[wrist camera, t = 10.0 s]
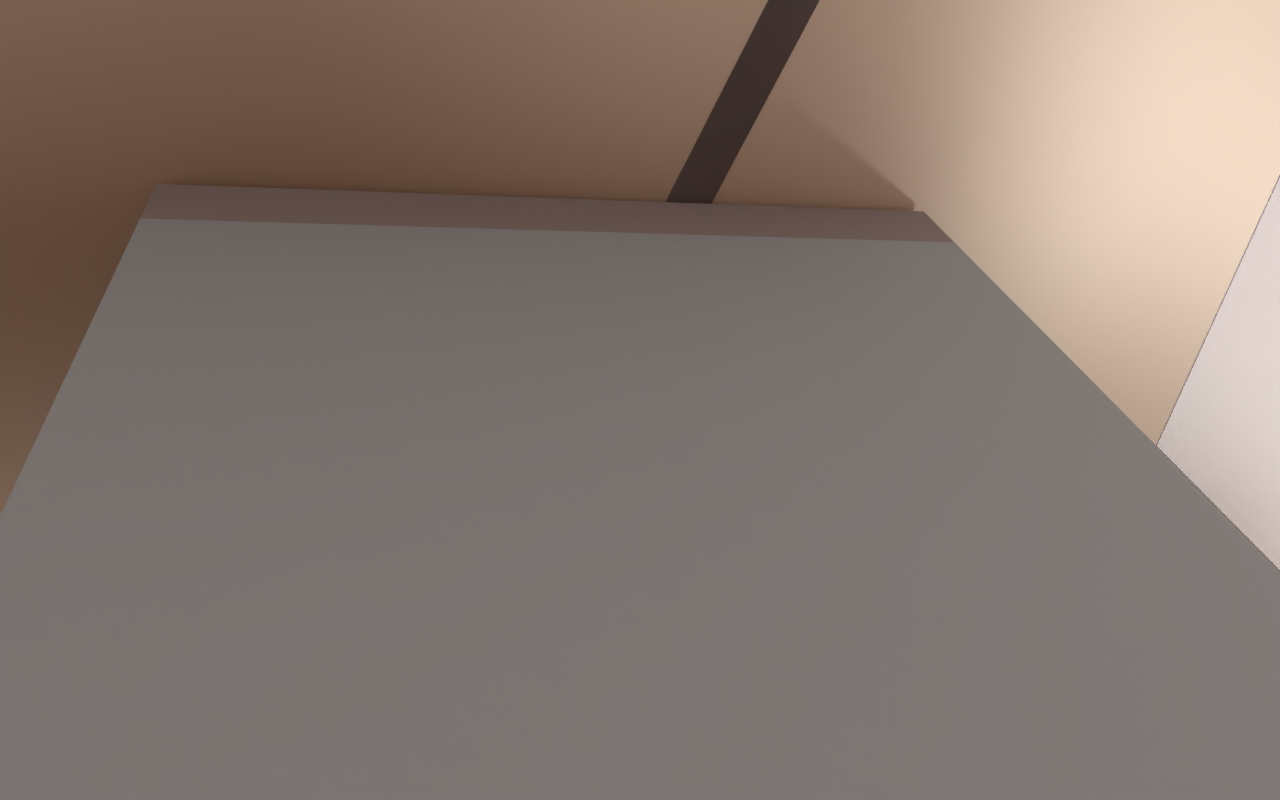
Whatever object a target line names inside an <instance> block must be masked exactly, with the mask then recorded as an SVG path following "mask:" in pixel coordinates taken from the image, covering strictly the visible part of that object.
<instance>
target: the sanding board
mask: <svg viewBox="0 0 1280 800" xmlns="http://www.w3.org/2000/svg"><path fill="white" fill-rule="evenodd" d="M1279 177H1280V0H0V515H1V513H2V511H3V509H4V507H5V505H6V502H7V500H8V498H9V496H10V494H11V492H12V490H13V488H14V485H15V483H16V481H17V479H18V477H19V475H20V473H21V471H22V468H23V466H24V464H25V462H26V460H27V458H28V456H29V454H30V451H31V449H32V447H33V445H34V443H35V441H36V439H37V437H38V434H39V432H40V430H41V428H42V426H43V424H44V422H45V420H46V417H47V415H48V413H49V411H50V409H51V407H52V405H53V403H54V400H55V398H56V396H57V394H58V392H59V390H60V388H61V386H62V383H63V381H64V379H65V377H66V375H67V373H68V371H69V369H70V366H71V364H72V362H73V360H74V358H75V356H76V354H77V352H78V349H79V347H80V345H81V343H82V341H83V339H84V337H85V335H86V332H87V330H88V328H89V326H90V324H91V322H92V320H93V317H94V315H95V313H96V311H97V309H98V307H99V305H100V303H101V300H102V298H103V296H104V294H105V292H106V290H107V288H108V286H109V283H110V281H111V279H112V277H113V275H114V273H115V271H116V269H117V266H118V264H119V262H120V260H121V258H122V256H123V254H124V252H125V249H126V247H127V245H128V243H129V241H130V239H131V237H132V235H133V232H134V230H135V228H136V226H137V224H138V222H139V220H140V218H141V215H142V213H143V211H144V209H145V207H146V205H147V203H148V201H149V198H150V196H151V194H152V192H153V190H154V188H155V186H156V184H178V185H206V186H233V187H261V188H288V189H316V190H344V191H371V192H399V193H426V194H454V195H482V196H509V197H537V198H564V199H592V200H620V201H647V202H675V203H702V204H730V205H758V206H785V207H813V208H840V209H868V210H896V211H923V212H925V213H926V214H927V215H928V216H929V217H930V218H931V219H932V220H933V221H934V222H935V223H936V224H937V225H938V226H939V227H940V228H941V229H942V230H943V231H944V232H945V233H946V234H947V235H948V236H949V237H950V238H951V239H952V240H953V241H954V242H955V243H956V244H957V245H958V246H959V247H960V248H961V249H962V250H963V251H964V252H965V253H966V254H967V255H968V256H969V257H970V258H971V259H972V260H973V261H974V262H975V264H976V265H977V266H978V267H979V268H980V269H981V270H982V271H983V272H984V273H985V274H986V275H987V276H988V277H989V278H990V279H991V280H992V281H993V282H994V283H995V284H996V285H997V286H998V287H999V288H1000V289H1001V290H1002V291H1003V292H1004V293H1005V294H1006V295H1007V296H1008V297H1009V298H1010V299H1011V300H1012V301H1013V302H1014V303H1015V304H1016V305H1017V306H1018V307H1019V308H1020V309H1021V310H1022V311H1023V312H1024V313H1025V314H1026V315H1027V316H1028V317H1029V318H1030V319H1031V320H1032V321H1033V322H1034V323H1035V324H1036V325H1037V326H1038V327H1039V328H1040V329H1041V330H1042V331H1043V332H1044V333H1045V334H1046V335H1047V336H1048V337H1049V338H1050V339H1051V340H1052V341H1053V342H1054V343H1055V344H1056V345H1057V346H1058V347H1059V348H1060V349H1061V350H1062V351H1063V352H1064V353H1065V354H1066V355H1067V356H1068V357H1069V358H1070V359H1071V360H1072V361H1073V362H1074V363H1075V364H1076V365H1077V366H1078V367H1079V368H1080V369H1081V370H1082V371H1083V372H1084V373H1085V374H1086V375H1087V376H1088V377H1089V378H1090V379H1091V380H1092V381H1093V382H1094V383H1095V384H1096V386H1097V387H1098V388H1099V389H1100V390H1101V391H1102V392H1103V393H1104V394H1105V395H1106V396H1107V397H1108V398H1109V399H1110V400H1111V401H1112V402H1113V403H1114V404H1115V405H1116V406H1117V407H1118V408H1119V409H1120V410H1121V411H1122V412H1123V413H1124V414H1125V415H1126V416H1127V417H1128V418H1129V419H1130V420H1131V421H1132V422H1133V423H1134V424H1135V425H1136V426H1137V427H1138V428H1139V429H1140V430H1141V431H1142V432H1143V433H1144V434H1145V435H1146V436H1147V437H1148V438H1149V439H1150V440H1151V441H1152V442H1153V443H1154V444H1155V445H1156V446H1157V444H1158V442H1159V440H1160V437H1161V435H1162V433H1163V431H1164V429H1165V427H1166V424H1167V422H1168V420H1169V418H1170V416H1171V413H1172V411H1173V409H1174V407H1175V405H1176V402H1177V400H1178V398H1179V396H1180V394H1181V392H1182V389H1183V387H1184V385H1185V383H1186V381H1187V378H1188V376H1189V374H1190V372H1191V370H1192V368H1193V365H1194V363H1195V361H1196V359H1197V357H1198V354H1199V352H1200V350H1201V348H1202V346H1203V343H1204V341H1205V339H1206V337H1207V335H1208V333H1209V330H1210V328H1211V326H1212V324H1213V322H1214V319H1215V317H1216V315H1217V313H1218V311H1219V309H1220V306H1221V304H1222V302H1223V300H1224V298H1225V295H1226V293H1227V291H1228V289H1229V287H1230V285H1231V282H1232V280H1233V278H1234V276H1235V274H1236V271H1237V269H1238V267H1239V265H1240V263H1241V260H1242V258H1243V256H1244V254H1245V252H1246V250H1247V247H1248V245H1249V243H1250V241H1251V239H1252V236H1253V234H1254V232H1255V230H1256V228H1257V226H1258V223H1259V221H1260V219H1261V217H1262V215H1263V212H1264V210H1265V208H1266V206H1267V204H1268V201H1269V199H1270V197H1271V195H1272V193H1273V191H1274V188H1275V186H1276V184H1277V182H1278V180H1279Z"/></svg>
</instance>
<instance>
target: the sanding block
mask: <svg viewBox="0 0 1280 800" xmlns="http://www.w3.org/2000/svg"><path fill="white" fill-rule="evenodd" d="M0 800H1280V570H1279V569H1278V568H1277V567H1276V566H1275V565H1274V564H1273V563H1272V562H1271V561H1270V560H1269V559H1268V558H1267V557H1266V556H1265V555H1264V554H1263V553H1262V552H1261V551H1260V550H1259V549H1258V548H1257V547H1256V546H1255V545H1254V544H1253V543H1252V542H1251V541H1250V540H1249V539H1248V538H1247V537H1246V536H1245V535H1244V534H1243V533H1242V532H1241V531H1240V530H1239V529H1238V528H1237V527H1236V526H1235V525H1234V524H1233V523H1232V522H1231V521H1230V520H1229V519H1228V518H1227V517H1226V516H1225V515H1224V514H1223V513H1222V512H1221V511H1220V510H1219V509H1218V508H1217V506H1216V505H1215V504H1214V503H1213V502H1212V501H1211V500H1210V499H1209V498H1208V497H1207V496H1206V495H1205V494H1204V493H1203V492H1202V491H1201V490H1200V489H1199V488H1198V487H1197V486H1196V485H1195V484H1194V483H1193V482H1192V481H1191V480H1190V479H1189V478H1188V477H1187V476H1186V475H1185V474H1184V473H1183V472H1182V471H1181V470H1180V469H1179V468H1178V467H1177V466H1176V465H1175V464H1174V463H1173V462H1172V461H1171V460H1170V459H1169V458H1168V457H1167V456H1166V455H1165V454H1164V453H1163V452H1162V451H1161V450H1160V449H1159V448H1158V447H1157V446H1156V445H1155V444H1154V443H1153V442H1152V441H1151V440H1150V439H1149V438H1148V437H1147V436H1146V435H1145V434H1144V433H1143V432H1142V431H1141V430H1140V429H1139V428H1138V427H1137V426H1136V425H1135V424H1134V423H1133V422H1132V421H1131V420H1130V419H1129V418H1128V417H1127V416H1126V415H1125V414H1124V413H1123V412H1122V411H1121V410H1120V409H1119V408H1118V407H1117V406H1116V405H1115V404H1114V403H1113V402H1112V401H1111V400H1110V399H1109V398H1108V397H1107V396H1106V395H1105V394H1104V393H1103V392H1102V391H1101V390H1100V389H1099V388H1098V387H1097V386H1096V384H1095V383H1094V382H1093V381H1092V380H1091V379H1090V378H1089V377H1088V376H1087V375H1086V374H1085V373H1084V372H1083V371H1082V370H1081V369H1080V368H1079V367H1078V366H1077V365H1076V364H1075V363H1074V362H1073V361H1072V360H1071V359H1070V358H1069V357H1068V356H1067V355H1066V354H1065V353H1064V352H1063V351H1062V350H1061V349H1060V348H1059V347H1058V346H1057V345H1056V344H1055V343H1054V342H1053V341H1052V340H1051V339H1050V338H1049V337H1048V336H1047V335H1046V334H1045V333H1044V332H1043V331H1042V330H1041V329H1040V328H1039V327H1038V326H1037V325H1036V324H1035V323H1034V322H1033V321H1032V320H1031V319H1030V318H1029V317H1028V316H1027V315H1026V314H1025V313H1024V312H1023V311H1022V310H1021V309H1020V308H1019V307H1018V306H1017V305H1016V304H1015V303H1014V302H1013V301H1012V300H1011V299H1010V298H1009V297H1008V296H1007V295H1006V294H1005V293H1004V292H1003V291H1002V290H1001V289H1000V288H999V287H998V286H997V285H996V284H995V283H994V282H993V281H992V280H991V279H990V278H989V277H988V276H987V275H986V274H985V273H984V272H983V271H982V270H981V269H980V268H979V267H978V266H977V265H976V264H975V262H974V261H973V260H972V259H971V258H970V257H969V256H968V255H967V254H966V253H965V252H964V251H963V250H962V249H961V248H960V247H959V246H958V245H957V244H956V243H955V242H954V241H953V240H952V239H951V238H950V237H949V236H948V235H947V234H946V233H945V232H944V231H943V230H942V229H941V228H940V227H939V226H938V225H937V224H936V223H935V222H934V221H933V220H932V219H931V218H930V217H929V216H928V215H927V214H926V213H925V212H923V211H896V210H868V209H840V208H813V207H785V206H758V205H730V204H702V203H675V202H647V201H620V200H592V199H564V198H537V197H509V196H482V195H454V194H426V193H399V192H371V191H344V190H316V189H288V188H261V187H233V186H206V185H178V184H156V186H155V188H154V190H153V192H152V194H151V196H150V198H149V201H148V203H147V205H146V207H145V209H144V211H143V213H142V215H141V218H140V220H139V222H138V224H137V226H136V228H135V230H134V232H133V235H132V237H131V239H130V241H129V243H128V245H127V247H126V249H125V252H124V254H123V256H122V258H121V260H120V262H119V264H118V266H117V269H116V271H115V273H114V275H113V277H112V279H111V281H110V283H109V286H108V288H107V290H106V292H105V294H104V296H103V298H102V300H101V303H100V305H99V307H98V309H97V311H96V313H95V315H94V317H93V320H92V322H91V324H90V326H89V328H88V330H87V332H86V335H85V337H84V339H83V341H82V343H81V345H80V347H79V349H78V352H77V354H76V356H75V358H74V360H73V362H72V364H71V366H70V369H69V371H68V373H67V375H66V377H65V379H64V381H63V383H62V386H61V388H60V390H59V392H58V394H57V396H56V398H55V400H54V403H53V405H52V407H51V409H50V411H49V413H48V415H47V417H46V420H45V422H44V424H43V426H42V428H41V430H40V432H39V434H38V437H37V439H36V441H35V443H34V445H33V447H32V449H31V451H30V454H29V456H28V458H27V460H26V462H25V464H24V466H23V468H22V471H21V473H20V475H19V477H18V479H17V481H16V483H15V485H14V488H13V490H12V492H11V494H10V496H9V498H8V500H7V502H6V505H5V507H4V509H3V511H2V513H1V515H0Z"/></svg>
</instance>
